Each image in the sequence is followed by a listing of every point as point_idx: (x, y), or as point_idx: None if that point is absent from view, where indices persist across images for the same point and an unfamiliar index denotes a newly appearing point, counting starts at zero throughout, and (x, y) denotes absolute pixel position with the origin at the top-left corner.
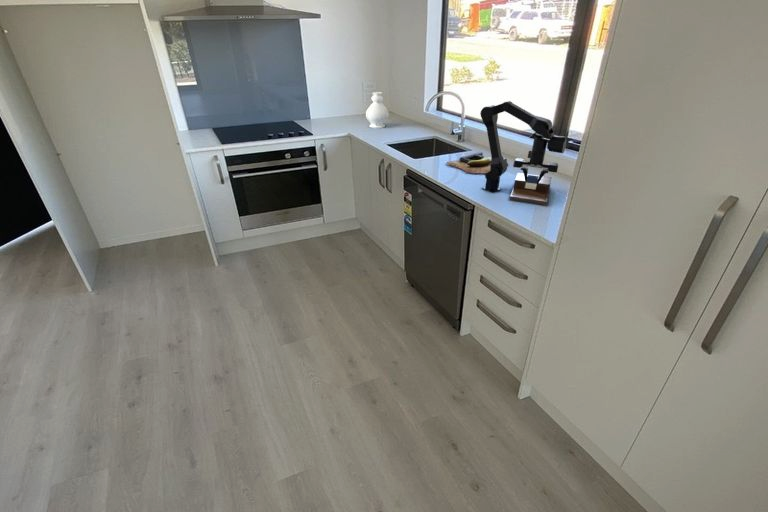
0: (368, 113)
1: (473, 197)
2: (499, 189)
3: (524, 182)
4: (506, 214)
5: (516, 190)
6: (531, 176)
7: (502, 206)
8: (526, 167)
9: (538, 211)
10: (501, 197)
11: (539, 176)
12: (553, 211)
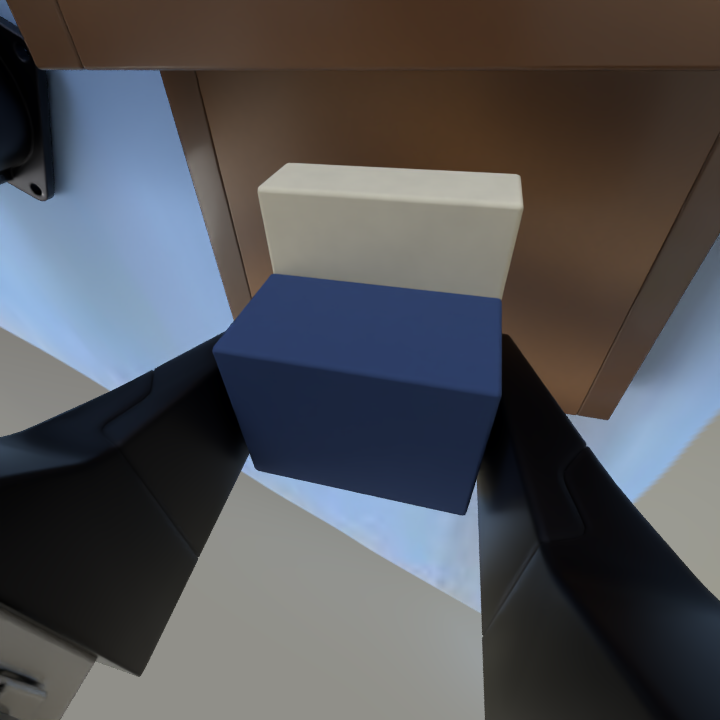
0: None
1: (49, 342)
2: (38, 84)
3: (242, 66)
4: (316, 504)
5: (235, 169)
6: (315, 434)
7: None
8: (64, 704)
9: None
10: (184, 291)
11: (482, 589)
12: (635, 467)
